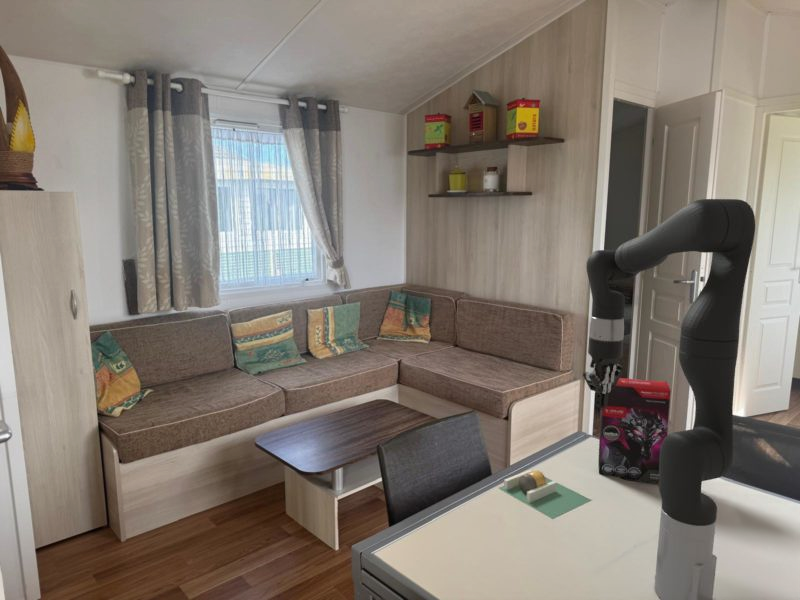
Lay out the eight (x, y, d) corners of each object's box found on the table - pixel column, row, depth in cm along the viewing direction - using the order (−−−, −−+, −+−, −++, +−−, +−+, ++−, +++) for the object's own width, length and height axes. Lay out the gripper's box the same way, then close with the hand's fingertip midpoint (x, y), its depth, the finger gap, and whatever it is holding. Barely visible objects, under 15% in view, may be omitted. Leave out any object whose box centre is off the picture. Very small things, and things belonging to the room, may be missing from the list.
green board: (591, 502, 142) (591, 500, 142) (552, 521, 134) (552, 518, 134) (536, 475, 157) (536, 472, 157) (497, 490, 148) (498, 487, 148)
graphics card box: (597, 477, 156) (603, 382, 151) (596, 466, 163) (602, 375, 158) (664, 486, 151) (673, 388, 147) (660, 474, 158) (669, 381, 153)
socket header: (555, 491, 146) (556, 482, 146) (529, 502, 141) (529, 493, 140) (529, 478, 154) (530, 469, 153) (503, 488, 148) (504, 479, 147)
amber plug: (543, 492, 147) (548, 478, 145) (529, 498, 144) (534, 484, 142) (529, 480, 150) (535, 466, 148) (516, 486, 147) (521, 472, 145)
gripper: (602, 343, 124) (598, 418, 127) (637, 335, 132) (631, 406, 135) (574, 336, 130) (570, 408, 133) (609, 329, 138) (604, 397, 141)
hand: (601, 407), depth 134 cm, fingers closed
